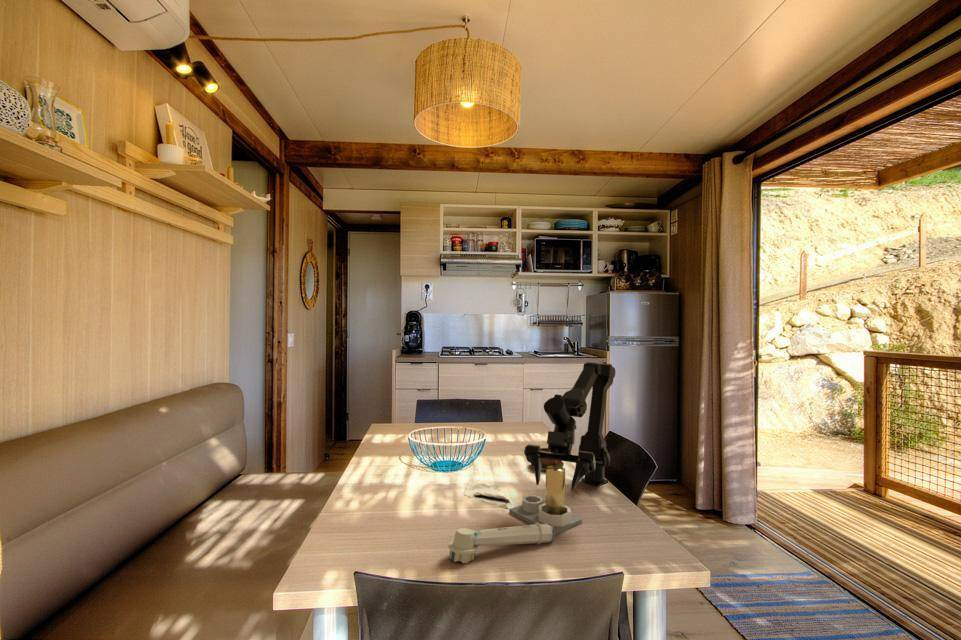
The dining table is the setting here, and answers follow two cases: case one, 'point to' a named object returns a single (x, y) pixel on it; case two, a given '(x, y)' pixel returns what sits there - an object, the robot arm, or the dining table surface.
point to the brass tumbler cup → (555, 490)
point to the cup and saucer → (549, 461)
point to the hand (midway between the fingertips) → (554, 487)
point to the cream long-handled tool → (497, 539)
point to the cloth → (484, 493)
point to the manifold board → (544, 514)
